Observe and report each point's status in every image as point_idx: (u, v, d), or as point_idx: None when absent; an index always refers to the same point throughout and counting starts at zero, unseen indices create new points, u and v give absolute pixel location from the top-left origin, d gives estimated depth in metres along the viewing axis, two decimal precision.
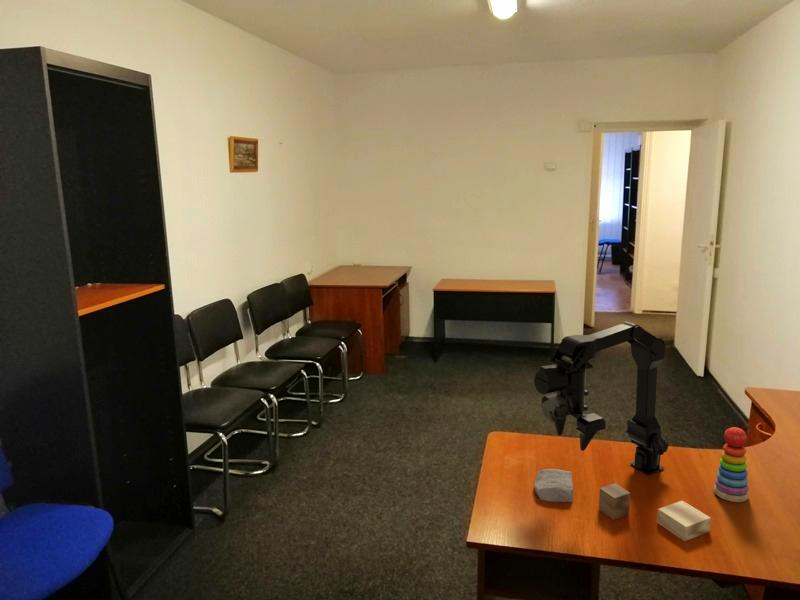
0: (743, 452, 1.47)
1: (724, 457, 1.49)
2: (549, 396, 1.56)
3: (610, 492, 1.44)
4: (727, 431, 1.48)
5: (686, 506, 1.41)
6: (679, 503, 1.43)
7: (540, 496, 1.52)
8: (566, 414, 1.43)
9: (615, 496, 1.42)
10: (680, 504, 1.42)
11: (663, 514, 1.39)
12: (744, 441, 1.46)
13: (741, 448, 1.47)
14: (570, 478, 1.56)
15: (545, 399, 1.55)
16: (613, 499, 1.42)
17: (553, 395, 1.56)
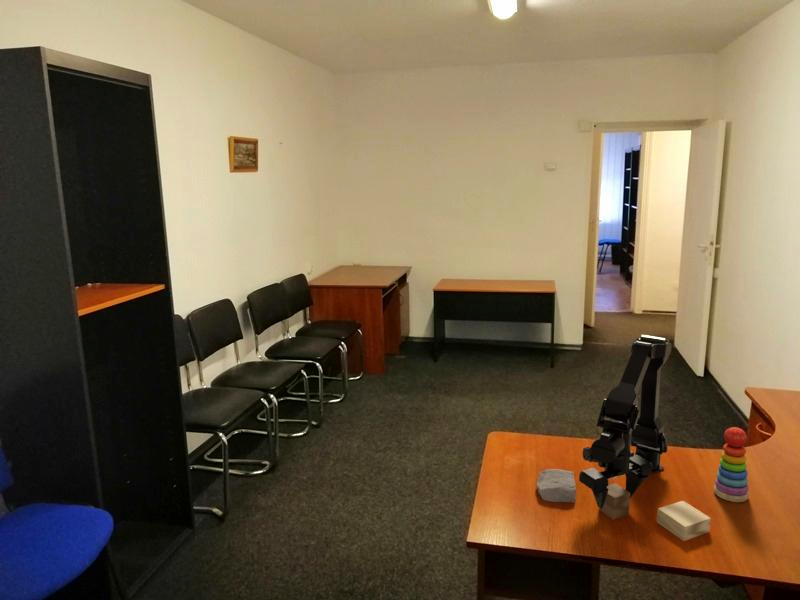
0: (743, 452, 1.47)
1: (724, 457, 1.49)
2: (636, 456, 1.48)
3: (610, 492, 1.44)
4: (727, 431, 1.48)
5: (686, 506, 1.41)
6: (680, 503, 1.42)
7: (543, 496, 1.52)
8: (588, 458, 1.46)
9: (615, 496, 1.42)
10: (680, 504, 1.42)
11: (663, 514, 1.39)
12: (744, 441, 1.46)
13: (741, 448, 1.47)
14: (572, 478, 1.56)
15: None
16: (613, 499, 1.42)
17: (640, 459, 1.46)
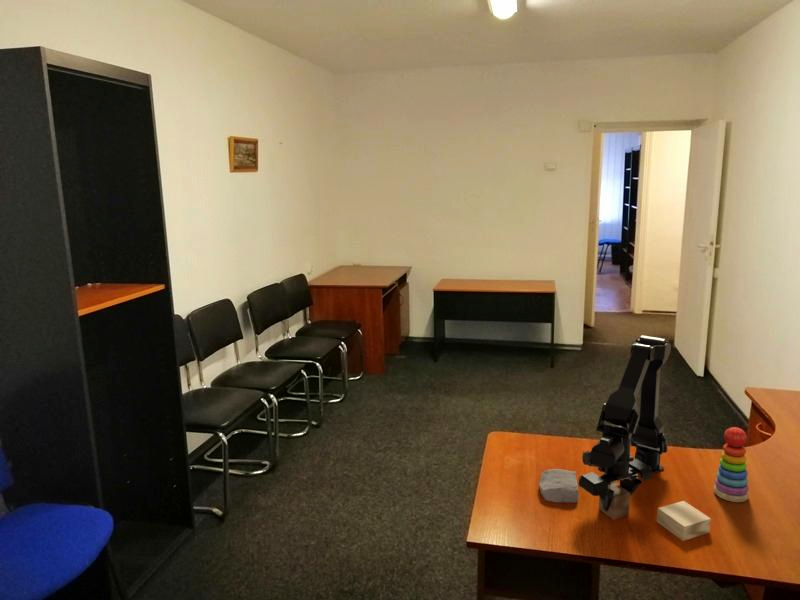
0: (743, 452, 1.47)
1: (724, 457, 1.49)
2: (636, 461, 1.48)
3: None
4: (727, 431, 1.48)
5: (686, 506, 1.41)
6: (680, 503, 1.42)
7: (545, 497, 1.52)
8: (587, 462, 1.46)
9: (615, 496, 1.42)
10: (681, 504, 1.42)
11: (663, 514, 1.40)
12: (744, 441, 1.46)
13: (741, 448, 1.47)
14: (575, 478, 1.56)
15: None
16: (613, 499, 1.42)
17: (640, 463, 1.47)
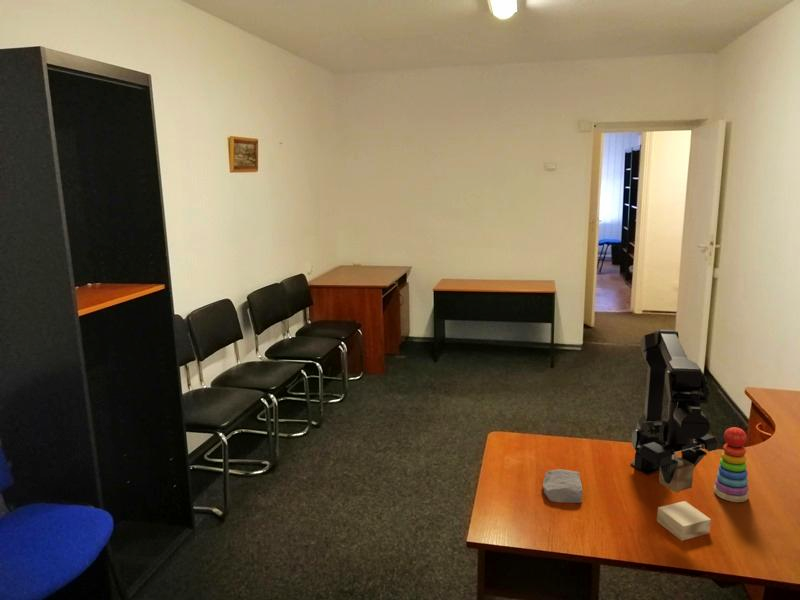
0: (743, 452, 1.47)
1: (724, 457, 1.49)
2: None
3: None
4: (727, 431, 1.48)
5: (687, 506, 1.41)
6: (681, 503, 1.42)
7: (549, 497, 1.52)
8: (647, 432, 1.38)
9: (678, 467, 1.34)
10: (681, 504, 1.42)
11: (662, 513, 1.40)
12: (744, 441, 1.46)
13: (741, 448, 1.47)
14: (578, 478, 1.56)
15: None
16: (676, 470, 1.34)
17: None
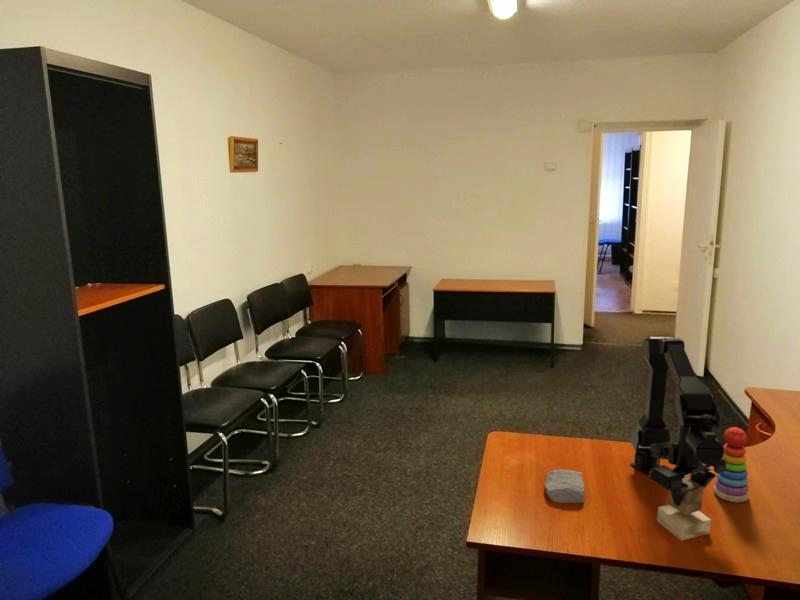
0: (743, 452, 1.47)
1: (724, 457, 1.49)
2: None
3: None
4: (727, 431, 1.48)
5: None
6: None
7: (551, 497, 1.51)
8: (657, 455, 1.38)
9: (688, 490, 1.34)
10: None
11: (662, 513, 1.40)
12: (744, 441, 1.46)
13: (741, 448, 1.47)
14: (580, 479, 1.56)
15: None
16: (686, 493, 1.34)
17: None
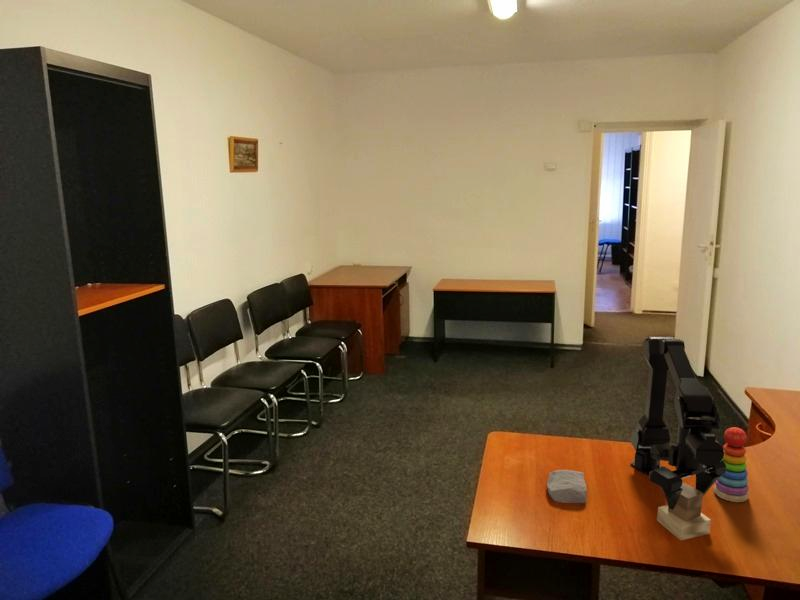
0: (743, 452, 1.47)
1: (724, 457, 1.49)
2: None
3: (682, 493, 1.36)
4: (727, 431, 1.48)
5: None
6: None
7: (554, 497, 1.51)
8: (657, 456, 1.38)
9: (688, 496, 1.35)
10: None
11: (662, 513, 1.40)
12: (744, 441, 1.46)
13: (741, 448, 1.47)
14: (582, 479, 1.56)
15: None
16: (686, 500, 1.34)
17: None
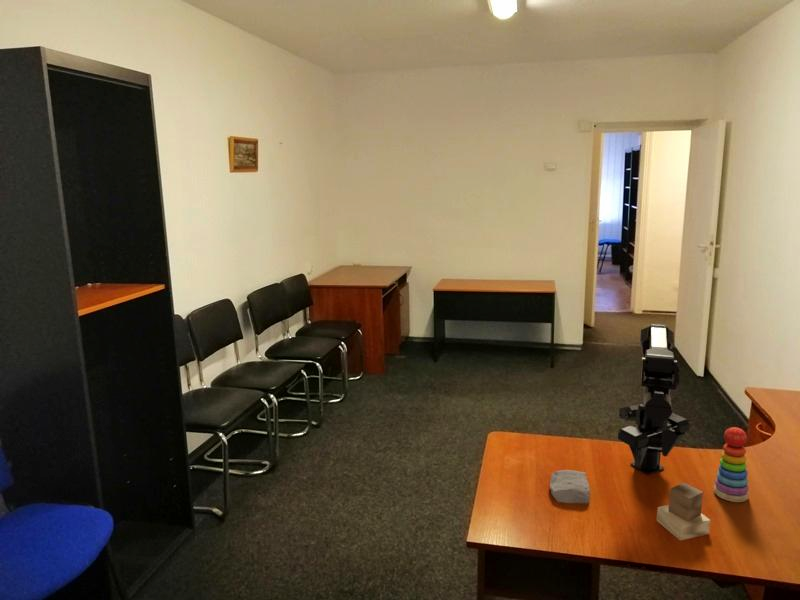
0: (743, 452, 1.47)
1: (724, 457, 1.49)
2: (672, 414, 1.48)
3: (682, 493, 1.36)
4: (727, 431, 1.48)
5: None
6: None
7: (557, 498, 1.51)
8: (625, 417, 1.46)
9: (689, 496, 1.35)
10: None
11: (662, 513, 1.40)
12: (744, 441, 1.46)
13: (741, 448, 1.47)
14: (585, 479, 1.56)
15: None
16: (688, 500, 1.34)
17: (677, 416, 1.47)
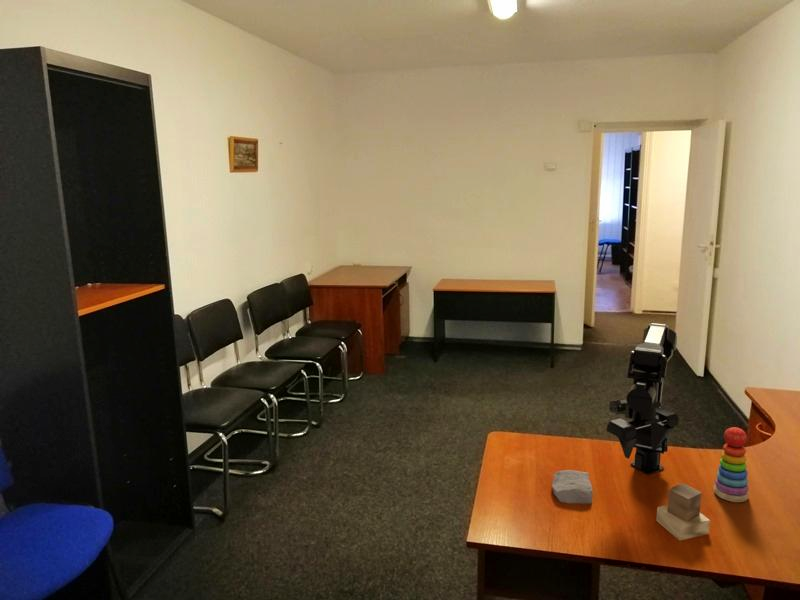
0: (743, 452, 1.47)
1: (724, 457, 1.49)
2: (662, 409, 1.51)
3: (681, 493, 1.36)
4: (727, 431, 1.48)
5: None
6: None
7: (559, 498, 1.51)
8: (615, 410, 1.49)
9: (688, 497, 1.35)
10: None
11: (661, 513, 1.40)
12: (744, 441, 1.46)
13: (741, 448, 1.47)
14: (588, 479, 1.56)
15: (657, 409, 1.52)
16: (686, 500, 1.34)
17: (666, 411, 1.50)
